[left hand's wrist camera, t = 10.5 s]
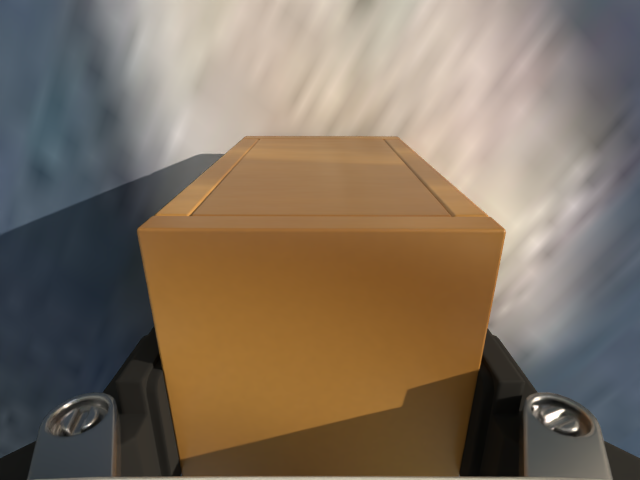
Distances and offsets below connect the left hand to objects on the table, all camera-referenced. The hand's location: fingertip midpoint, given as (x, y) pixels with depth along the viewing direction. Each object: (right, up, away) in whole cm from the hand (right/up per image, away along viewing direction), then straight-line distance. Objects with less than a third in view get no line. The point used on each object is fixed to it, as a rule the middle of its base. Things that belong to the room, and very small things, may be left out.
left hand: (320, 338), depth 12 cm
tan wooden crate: (0, -1, +9) cm, 9 cm away
